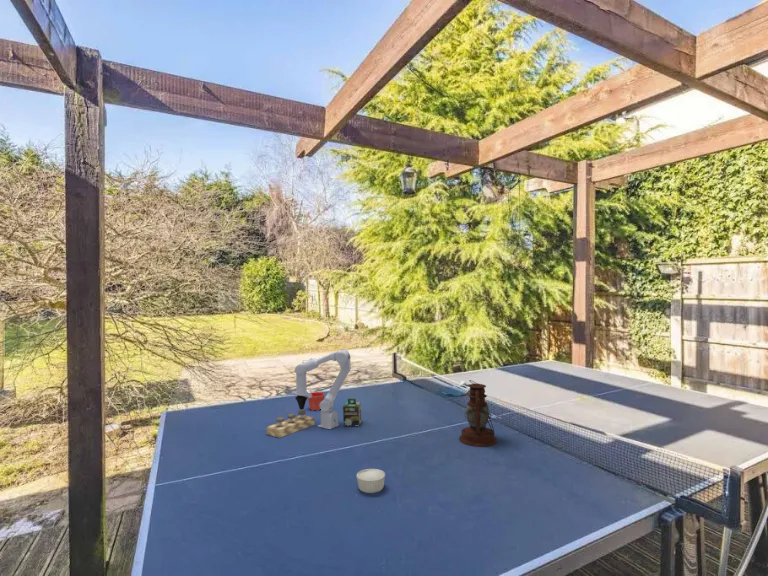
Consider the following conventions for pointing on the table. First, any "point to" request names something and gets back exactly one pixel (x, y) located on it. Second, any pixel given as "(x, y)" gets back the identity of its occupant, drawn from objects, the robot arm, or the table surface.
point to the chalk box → (352, 413)
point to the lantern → (477, 419)
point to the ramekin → (370, 480)
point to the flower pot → (316, 400)
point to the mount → (290, 426)
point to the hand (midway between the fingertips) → (301, 409)
